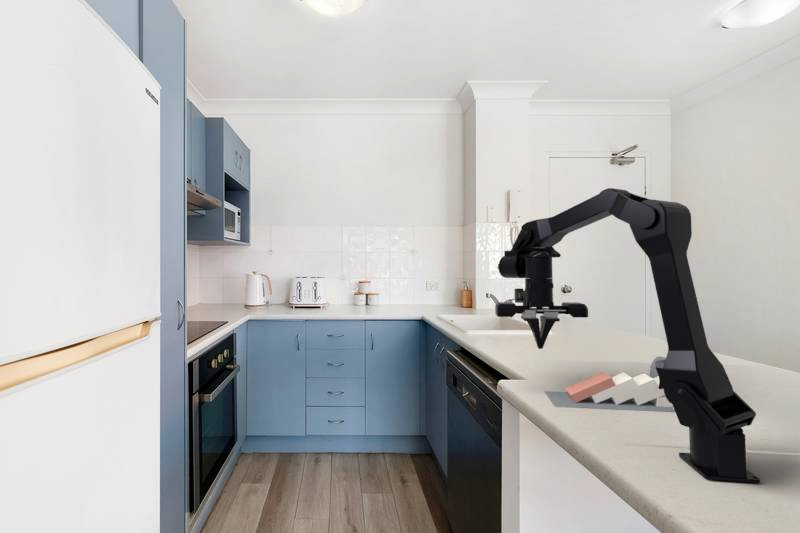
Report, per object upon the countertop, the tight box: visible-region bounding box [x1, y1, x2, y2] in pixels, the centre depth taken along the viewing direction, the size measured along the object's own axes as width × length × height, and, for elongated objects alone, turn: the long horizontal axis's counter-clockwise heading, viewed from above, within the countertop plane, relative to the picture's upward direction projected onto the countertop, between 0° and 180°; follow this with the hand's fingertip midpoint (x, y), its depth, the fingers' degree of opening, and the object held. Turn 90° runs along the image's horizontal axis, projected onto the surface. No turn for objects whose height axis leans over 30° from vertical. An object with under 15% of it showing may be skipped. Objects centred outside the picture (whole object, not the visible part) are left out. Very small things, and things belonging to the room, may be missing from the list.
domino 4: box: [630, 376, 665, 405], centre depth 75 cm, size 4×2×9 cm
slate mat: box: [543, 390, 676, 413], centre depth 77 cm, size 10×23×1 cm, turn 80°
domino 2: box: [589, 371, 637, 403], centre depth 77 cm, size 4×2×9 cm
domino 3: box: [609, 372, 658, 405], centre depth 76 cm, size 4×2×9 cm
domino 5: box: [650, 395, 674, 408], centre depth 75 cm, size 4×2×9 cm
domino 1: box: [565, 371, 616, 403], centre depth 77 cm, size 4×2×9 cm
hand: (540, 348), depth 80 cm, fingers closed
